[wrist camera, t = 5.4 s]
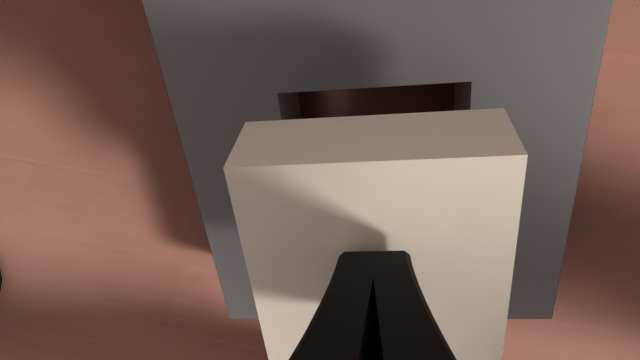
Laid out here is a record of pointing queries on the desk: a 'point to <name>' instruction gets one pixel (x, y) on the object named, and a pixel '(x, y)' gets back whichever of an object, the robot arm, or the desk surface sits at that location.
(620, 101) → the desk surface
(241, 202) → the cap
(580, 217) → the desk surface
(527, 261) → the panel
